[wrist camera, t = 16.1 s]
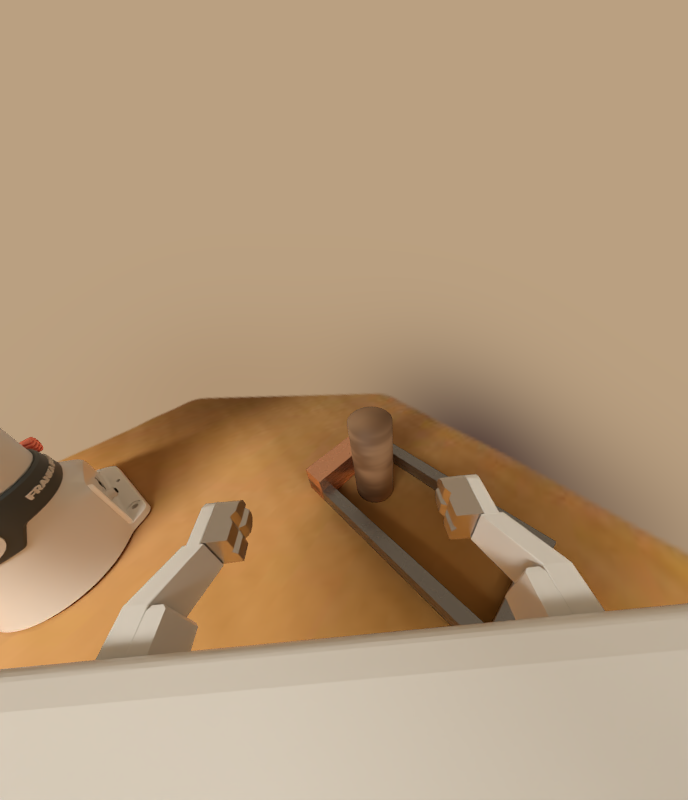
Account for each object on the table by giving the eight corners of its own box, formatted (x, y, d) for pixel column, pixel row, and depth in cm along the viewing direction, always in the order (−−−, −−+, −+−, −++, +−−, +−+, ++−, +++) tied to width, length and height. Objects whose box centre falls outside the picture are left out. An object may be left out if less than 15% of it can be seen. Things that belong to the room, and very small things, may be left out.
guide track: (311, 487, 37) (305, 469, 34) (371, 438, 43) (369, 420, 40) (496, 670, 21) (508, 660, 18) (549, 550, 27) (563, 531, 24)
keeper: (349, 486, 36) (337, 422, 29) (373, 465, 38) (368, 401, 31) (376, 509, 33) (370, 444, 26) (400, 484, 35) (401, 418, 28)
